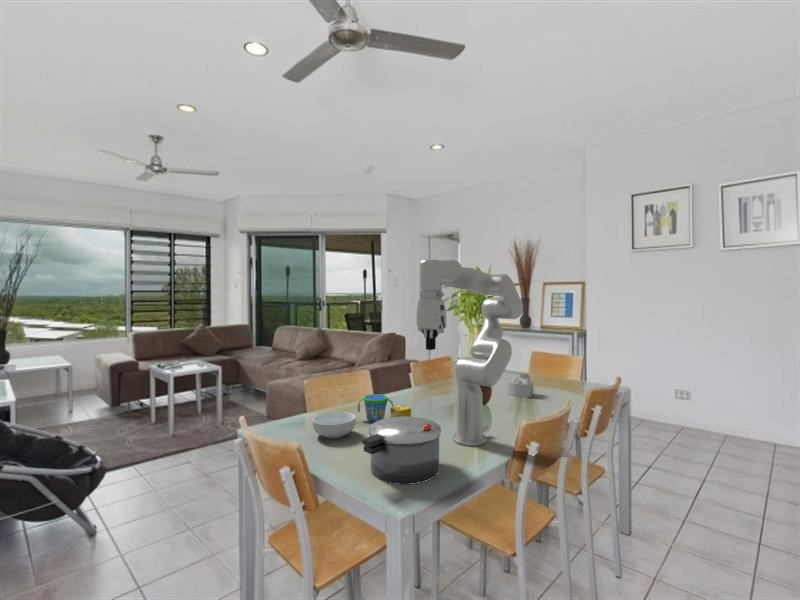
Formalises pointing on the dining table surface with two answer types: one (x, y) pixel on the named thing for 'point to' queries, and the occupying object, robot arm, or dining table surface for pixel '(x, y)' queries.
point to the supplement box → (400, 411)
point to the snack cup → (375, 406)
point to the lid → (402, 431)
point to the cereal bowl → (334, 424)
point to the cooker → (404, 461)
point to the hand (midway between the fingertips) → (430, 349)
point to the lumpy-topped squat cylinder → (520, 387)
